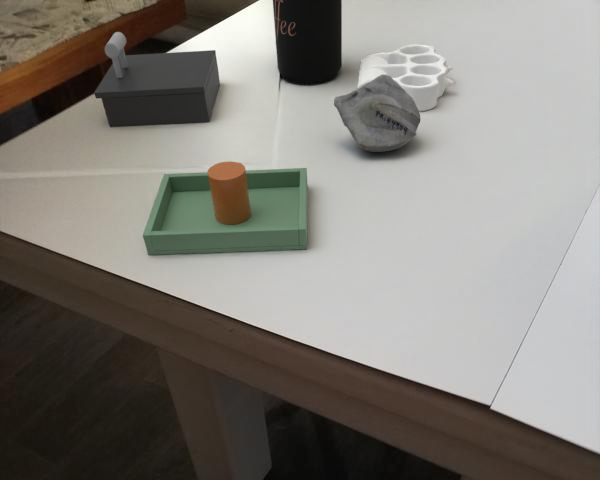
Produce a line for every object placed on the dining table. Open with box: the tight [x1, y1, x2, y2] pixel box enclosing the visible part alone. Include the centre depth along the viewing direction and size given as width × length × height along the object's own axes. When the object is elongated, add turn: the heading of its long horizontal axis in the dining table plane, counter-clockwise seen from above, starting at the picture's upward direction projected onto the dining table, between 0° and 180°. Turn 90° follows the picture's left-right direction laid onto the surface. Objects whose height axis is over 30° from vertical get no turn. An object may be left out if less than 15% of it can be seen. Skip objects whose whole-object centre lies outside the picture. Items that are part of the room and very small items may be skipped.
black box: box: [101, 56, 221, 128], centre depth 90 cm, size 15×15×5 cm
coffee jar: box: [272, 0, 343, 86], centre depth 92 cm, size 11×11×18 cm
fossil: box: [333, 75, 421, 153], centre depth 77 cm, size 11×9×8 cm
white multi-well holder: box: [356, 43, 456, 112], centre depth 91 cm, size 3×18×15 cm
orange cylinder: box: [207, 161, 251, 225], centre depth 67 cm, size 4×4×6 cm
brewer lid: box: [93, 31, 217, 99], centre depth 86 cm, size 16×15×5 cm
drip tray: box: [142, 167, 309, 256], centre depth 68 cm, size 18×14×2 cm
